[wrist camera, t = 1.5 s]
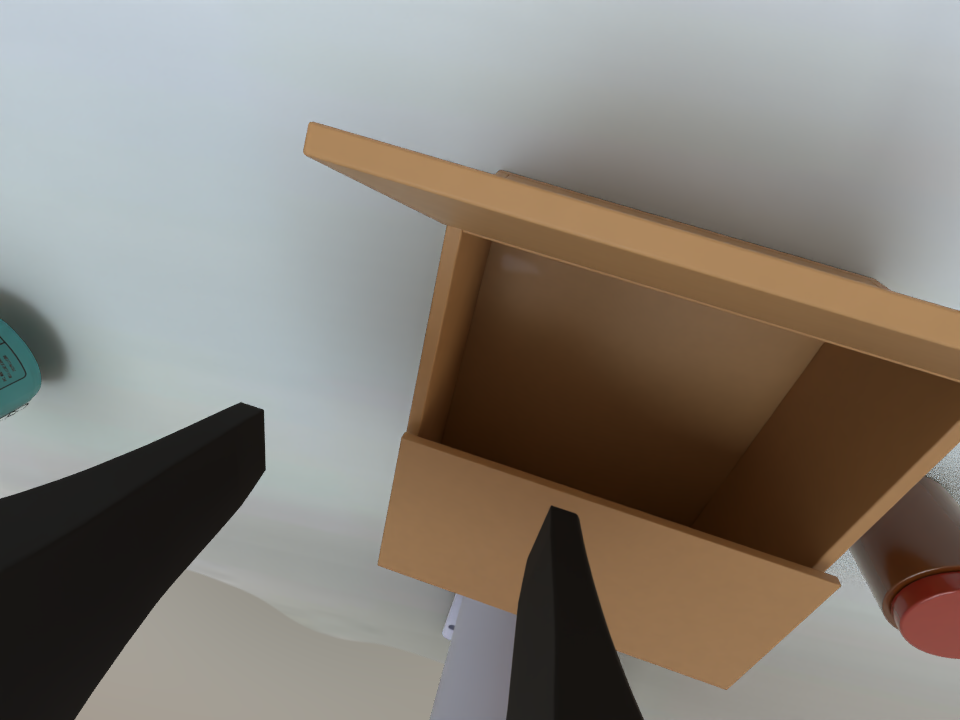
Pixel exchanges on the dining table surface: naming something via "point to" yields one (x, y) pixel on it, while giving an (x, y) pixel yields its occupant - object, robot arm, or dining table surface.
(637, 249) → the flap
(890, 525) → the spice jar
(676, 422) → the carton
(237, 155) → the dining table surface
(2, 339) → the beverage bottle
